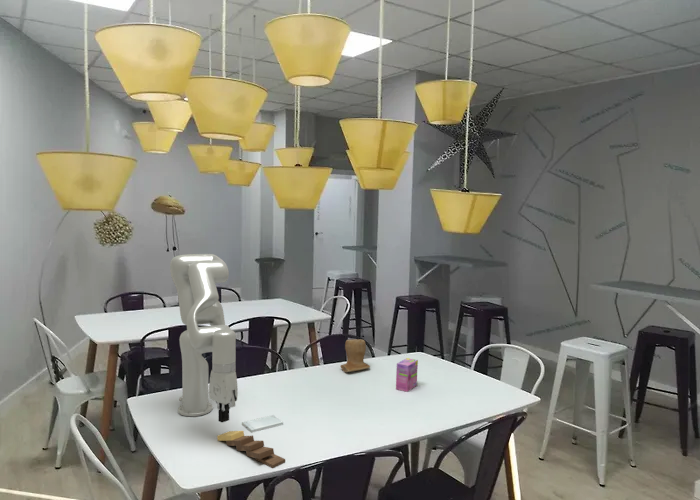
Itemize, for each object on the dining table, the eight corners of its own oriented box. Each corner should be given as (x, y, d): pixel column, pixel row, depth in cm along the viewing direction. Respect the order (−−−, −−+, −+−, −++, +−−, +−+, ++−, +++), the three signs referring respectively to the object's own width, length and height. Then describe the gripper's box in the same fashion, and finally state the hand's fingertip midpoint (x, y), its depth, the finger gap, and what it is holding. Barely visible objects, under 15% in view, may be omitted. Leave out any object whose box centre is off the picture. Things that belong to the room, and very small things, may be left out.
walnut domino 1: (226, 440, 167) (240, 440, 161) (239, 436, 170) (253, 435, 165) (227, 445, 166) (241, 445, 161) (239, 440, 170) (254, 440, 165)
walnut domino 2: (236, 445, 163) (250, 445, 158) (248, 440, 167) (263, 440, 162) (236, 450, 163) (251, 450, 158) (249, 445, 167) (264, 445, 161)
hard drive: (273, 414, 190) (241, 421, 183) (283, 421, 184) (251, 429, 177) (273, 418, 191) (241, 426, 183) (283, 426, 184) (251, 434, 177)
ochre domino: (230, 436, 174) (244, 435, 169) (217, 440, 170) (231, 440, 165) (229, 431, 174) (243, 430, 169) (217, 435, 170) (230, 435, 165)
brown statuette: (358, 364, 261) (359, 335, 260) (373, 370, 251) (373, 340, 250) (334, 368, 252) (334, 338, 251) (348, 375, 242) (348, 344, 241)
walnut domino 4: (255, 456, 157) (272, 465, 152) (267, 450, 161) (285, 459, 156) (255, 461, 157) (272, 470, 152) (267, 455, 161) (285, 464, 156)
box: (407, 392, 220) (408, 365, 220) (395, 389, 223) (396, 363, 223) (417, 385, 229) (418, 359, 228) (405, 383, 232) (406, 357, 231)
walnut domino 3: (246, 450, 160) (259, 453, 154) (259, 445, 163) (273, 448, 157) (246, 456, 159) (260, 459, 154) (260, 450, 163) (274, 453, 157)
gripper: (201, 365, 172) (201, 418, 173) (228, 374, 162) (228, 430, 164) (219, 360, 178) (219, 412, 179) (247, 369, 168) (247, 423, 169)
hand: (223, 420), depth 171 cm, fingers closed
